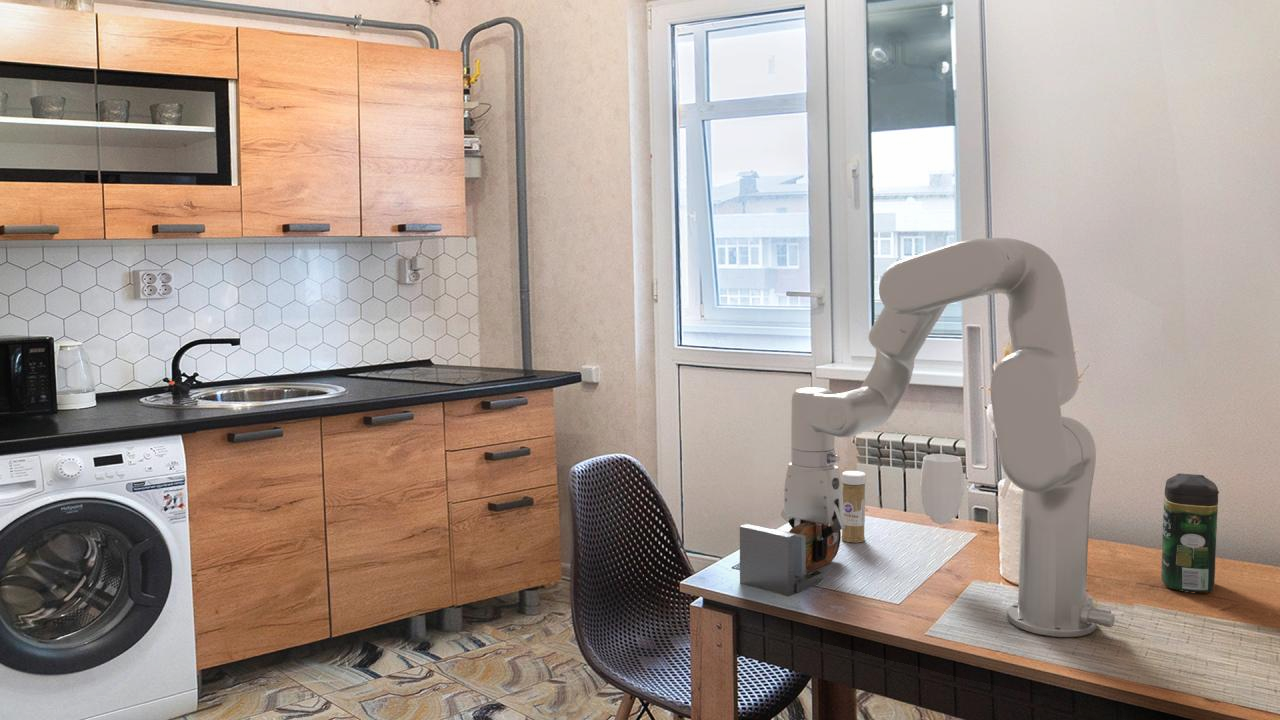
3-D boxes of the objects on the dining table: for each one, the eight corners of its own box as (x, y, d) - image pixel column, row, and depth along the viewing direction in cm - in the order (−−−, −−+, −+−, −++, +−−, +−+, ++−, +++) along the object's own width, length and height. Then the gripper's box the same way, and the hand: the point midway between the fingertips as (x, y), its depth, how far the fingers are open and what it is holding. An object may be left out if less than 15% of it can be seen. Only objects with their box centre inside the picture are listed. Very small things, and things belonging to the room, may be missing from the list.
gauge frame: (822, 580, 175) (823, 524, 174) (789, 596, 168) (790, 537, 167) (772, 568, 182) (772, 513, 181) (738, 582, 175) (738, 525, 174)
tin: (793, 579, 176) (796, 532, 175) (778, 574, 178) (781, 528, 177) (841, 558, 187) (844, 514, 186) (826, 554, 189) (829, 510, 188)
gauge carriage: (805, 575, 175) (805, 535, 174) (801, 577, 174) (801, 537, 173) (762, 564, 181) (762, 526, 180) (758, 566, 180) (758, 527, 179)
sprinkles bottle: (838, 541, 197) (839, 474, 196) (845, 535, 201) (845, 469, 200) (861, 544, 195) (862, 476, 194) (868, 538, 199) (868, 471, 198)
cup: (961, 582, 173) (963, 463, 171) (917, 578, 176) (919, 461, 173) (962, 569, 180) (964, 454, 178) (919, 566, 182) (921, 452, 180)
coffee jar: (1158, 573, 176) (1163, 468, 174) (1211, 579, 173) (1216, 472, 171) (1161, 591, 168) (1166, 481, 165) (1216, 597, 164) (1222, 485, 162)
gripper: (864, 460, 177) (862, 562, 180) (787, 448, 188) (786, 544, 191) (840, 468, 172) (839, 573, 174) (762, 454, 183) (762, 554, 185)
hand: (811, 557), depth 182 cm, fingers closed on tin, 2 cm apart
